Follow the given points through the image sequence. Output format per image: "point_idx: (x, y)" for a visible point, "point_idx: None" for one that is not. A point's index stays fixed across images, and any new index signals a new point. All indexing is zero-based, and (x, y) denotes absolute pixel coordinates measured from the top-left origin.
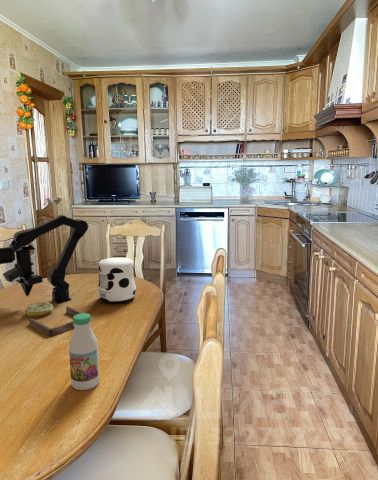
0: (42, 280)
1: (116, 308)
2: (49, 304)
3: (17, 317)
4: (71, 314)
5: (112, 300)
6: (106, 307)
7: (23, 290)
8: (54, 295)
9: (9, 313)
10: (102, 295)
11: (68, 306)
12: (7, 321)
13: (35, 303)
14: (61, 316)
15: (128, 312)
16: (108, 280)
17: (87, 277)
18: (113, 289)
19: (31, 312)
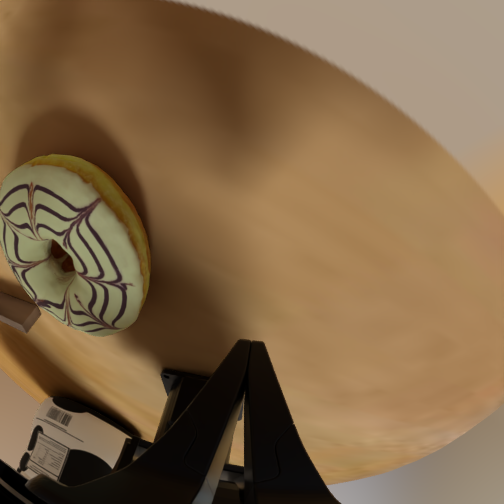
0: (5, 474)
1: (30, 372)
2: (50, 313)
3: (104, 87)
4: (11, 298)
5: (47, 399)
6: (43, 373)
7: (282, 397)
8: (178, 409)
9: (256, 74)
10: (58, 414)
11: (24, 332)
12: (94, 8)
13: (106, 286)
14: (9, 268)
15: (3, 357)
16: (30, 453)
17: (346, 475)
18: (32, 426)
19: (9, 177)
